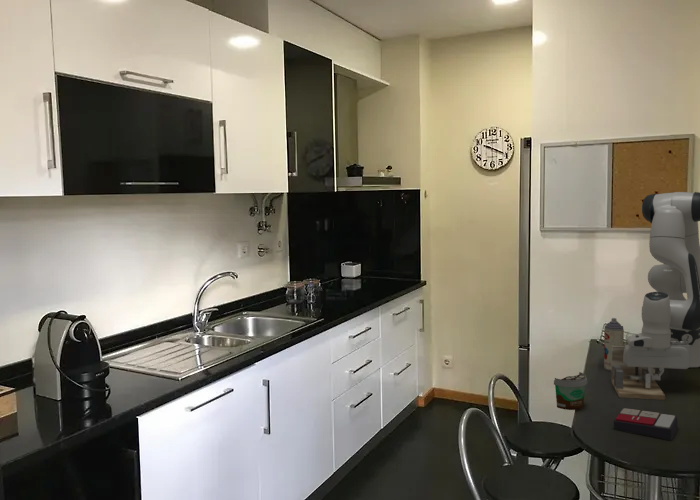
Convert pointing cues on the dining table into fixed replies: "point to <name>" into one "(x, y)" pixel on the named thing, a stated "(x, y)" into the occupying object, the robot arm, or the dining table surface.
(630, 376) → the slab with metal rod
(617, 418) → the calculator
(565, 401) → the food container
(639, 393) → the gauge frame
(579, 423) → the dining table surface
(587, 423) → the dining table surface
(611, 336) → the aerosol can
